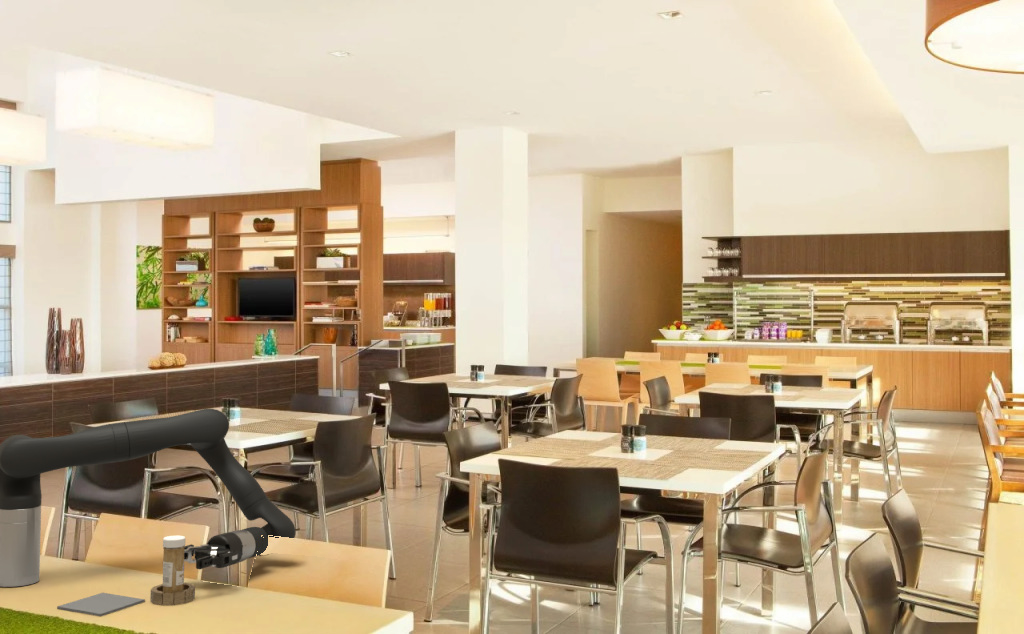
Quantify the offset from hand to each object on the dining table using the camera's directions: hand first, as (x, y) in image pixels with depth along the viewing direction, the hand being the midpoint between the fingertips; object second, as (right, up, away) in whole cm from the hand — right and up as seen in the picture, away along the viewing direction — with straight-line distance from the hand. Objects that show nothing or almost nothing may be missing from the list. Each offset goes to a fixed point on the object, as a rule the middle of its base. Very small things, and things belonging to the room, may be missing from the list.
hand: (182, 562), depth 211 cm
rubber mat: (-14, -7, -8) cm, 18 cm away
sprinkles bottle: (-1, -8, -3) cm, 8 cm away
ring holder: (-1, -7, -3) cm, 8 cm away
